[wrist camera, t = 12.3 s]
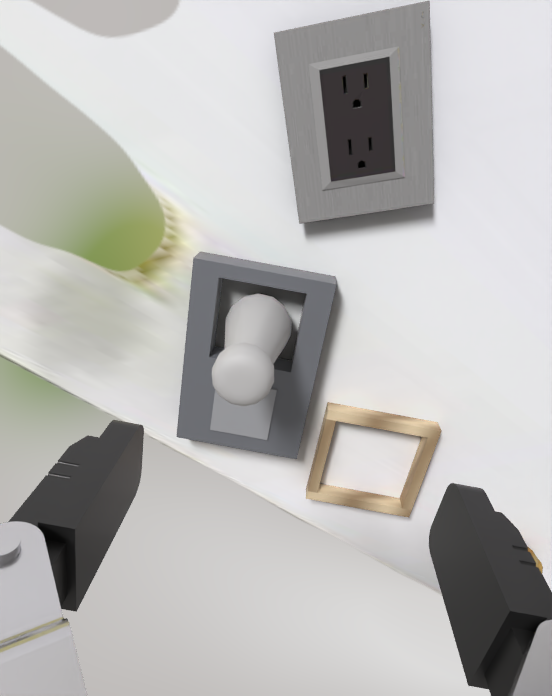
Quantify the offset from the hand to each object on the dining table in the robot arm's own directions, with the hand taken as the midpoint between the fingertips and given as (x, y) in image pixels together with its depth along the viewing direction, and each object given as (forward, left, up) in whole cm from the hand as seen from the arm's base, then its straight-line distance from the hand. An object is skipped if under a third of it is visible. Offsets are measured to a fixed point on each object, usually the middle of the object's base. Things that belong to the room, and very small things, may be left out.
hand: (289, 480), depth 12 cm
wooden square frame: (-11, +20, -30) cm, 38 cm away
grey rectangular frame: (+3, +11, -30) cm, 32 cm away
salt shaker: (+3, +7, -30) cm, 31 cm away
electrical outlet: (-2, -10, -31) cm, 32 cm away
